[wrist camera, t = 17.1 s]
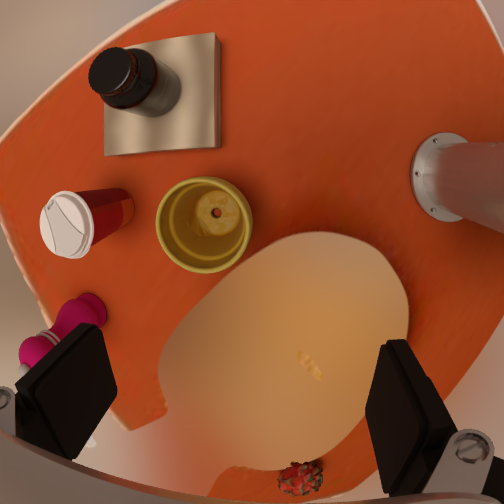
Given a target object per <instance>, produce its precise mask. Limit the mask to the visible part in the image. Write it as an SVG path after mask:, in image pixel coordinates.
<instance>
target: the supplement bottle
mask: <svg viewBox="0 0 504 504" xmlns="http://www.w3.org/2000/svg"><path fill="white" fill-rule="evenodd" d="M88 75H89V77H88V79H89V83H90V86H91V87H92V90H94V91H95V92H96V93H99V94H100V96H101V98H102V100H103V101H104V102H105V103H106V104H107V105H108V106H110V107H112V108H114V109H117V110H121V111H125V112H129V113H133V114H136V115H140V116H144V117H158V116H161V115H164V114H165V113H167V112H168V111H170V110H171V109H172V108H173V107H174V106H175V104H176V103H177V101H178V99H179V96H180V92H181V83H180V80H179V77H178V76H177V74H176V73H175V72H174V71H173V70H172V69H171V68H169V67H168V66H167V65H165V64H164V63H163V62H161V61H160V60H159V59H157V58H156V57H155V56H153V55H152V54H151V53H149V52H147V51H145V50H143V49H139V48H129V49H123V48H121V47H119V48H118V47H114V48H113V47H112V48H110V49H107V50H104V51H103V52H102V53H100V54H99V55H98V56H97V57H96V58H95V60H94V61H93V63H92V64H91V67H90V69H89V74H88Z"/></svg>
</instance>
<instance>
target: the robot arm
mask: <svg viewBox="0 0 504 504" xmlns="http://www.w3.org/2000/svg"><path fill="white" fill-rule="evenodd" d="M433 140H434V142H433ZM415 172H417V175H415ZM410 179H411V186H412V190H413V194H414V196H415V198H416V200H417V202H418V204H419V205H420V207H421V208H422V209H423V210H424V211H425V212H426V213H427V214H428V215H430V216H431V217H433V218H435V219H437V220H440V221H443V222H455V221H459V220H461V219H464V218H465V219H468V220H470V221H473V222H475V223H478V224H480V225H483V226H485V227H488V228H490V229H492V230H495V231H497V232H499V233H502V234H504V142H468V141H467V140H466V139H465V138H463V137H461V136H459V135H457V134H454V133H447V132H443V133H437V134H434V135H431V136H430V137H428V138H426V139H425V140H424V141H423V142H422V143H421V144H420V145H419V147H418V148H417V150H416V152H415V154H414V156H413V159H412V163H411V171H410ZM431 208H432V210H431ZM430 210H431V211H430ZM15 386H16V389H17V391H18V392H17V393H16V394H15V393H14V392H13V390H11V389H10V388H8V387H4V386H3V387H0V504H286V503H260V502H246V501H236V500H226V499H218V498H211V497H204V496H197V495H191V494H185V493H180V492H174V491H170V490H165V489H161V488H157V487H152V486H148V485H144V484H140V483H136V482H133V481H129V480H126V479H122V478H119V477H115V476H112V475H109V474H106V473H103V472H100V471H97V470H94V469H91V468H88V467H85V466H83V465H80V464H77V463H75V462H72V459H76V458H77V457H78V455H79V454H80V452H81V450H82V449H83V447H84V446H85V444H86V442H87V441H88V439H89V438H90V436H91V435H92V433H93V432H94V430H95V428H96V427H97V425H98V424H99V422H100V421H101V419H102V418H103V416H104V415H105V413H106V411H107V410H108V408H109V407H110V405H111V404H112V402H113V401H114V399H115V398H116V396H117V385H116V382H115V379H114V375H113V372H112V368H111V365H110V361H109V357H108V353H107V350H106V346H105V342H104V337H103V333H102V331H101V330H100V329H99V328H98V326H97V325H96V324H90V323H84V322H81V323H80V324H79V325H77V326H76V327H75V328H74V329H73V330H72V331H71V332H70V333H69V334H67V335H66V336H65V337H64V338H63V339H62V340H61V341H60V342H59V343H58V344H56V345H55V346H54V347H53V348H52V349H51V350H50V351H49V352H48V353H47V354H46V355H45V356H44V357H42V358H41V359H40V360H39V361H38V362H37V363H36V364H35V365H34V366H33V367H32V368H31V369H30V370H29V371H28V372H27V373H26V374H25V375H24V376H23V377H22V378H21V379H19V381H17V382H16V383H15ZM365 415H366V420H367V423H368V427H369V431H370V436H371V440H372V444H373V448H374V452H375V457H376V461H377V465H378V470H379V474H380V479H381V484H382V489H383V492H384V493H385V494H386V493H389V497H388V498H381V499H372V500H362V501H352V502H337V503H336V502H335V503H309V504H504V460H503V459H500V458H498V457H495V456H494V445H493V442H492V441H491V439H490V438H489V437H488V436H487V435H486V434H485V433H483V432H481V431H478V430H474V429H463V430H460V431H458V430H457V428H456V426H455V424H454V422H453V420H452V418H451V417H450V414H449V412H448V410H447V409H446V407H445V405H444V403H443V401H442V399H441V397H440V396H439V394H438V392H437V390H436V388H435V386H434V385H433V383H432V381H431V379H430V378H429V377H427V376H426V374H425V372H424V371H423V369H422V367H421V365H420V364H419V362H418V360H417V358H416V357H415V355H414V353H413V351H412V350H411V348H410V346H409V345H408V343H407V341H406V340H405V339H397V340H388V341H387V343H386V344H384V345H381V348H380V352H379V356H378V360H377V365H376V369H375V373H374V377H373V381H372V385H371V389H370V392H369V396H368V400H367V403H366V407H365Z"/></svg>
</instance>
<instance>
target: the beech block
mask: <svg viewBox="0 0 504 504" xmlns="http://www.w3.org/2000/svg"><path fill="white" fill-rule="evenodd" d="M129 48H139V49H143V50H145V51H147V52H149V53H151V54H152V55H153V56H155V57H156V58H157V59H159V60H160V61H161V62H163V63H164V64H165V65H167V66H168V67H169V68H171V69H172V70H173V71H174V72H175V73H176V74H177V76H178V77H179V80H180V83H181V92H180V96H179V99H178V101H177V103H176V104H175V106H174V107H173V108H172V109H171V110H170V111H168V112H167V113H165V114H164V115H161V116H158V117H144V116H140V115H136V114H133V113H129V112H125V111H121V110H117V109H114V108H112V107H110V106H108V105H107V104H106V103H105V102H104V156H123V155H132V154H142V153H152V152H164V151H177V150H192V149H211V148H221V112H220V61H221V43H220V41H219V39H218V37H217V36H216V34H215V33H205V34H197V35H189V36H182V37H175V38H169V39H163V40H158V41H153V42H148V43H143V44H138V45H134V46H129V47H125V48H123V49H129Z"/></svg>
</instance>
